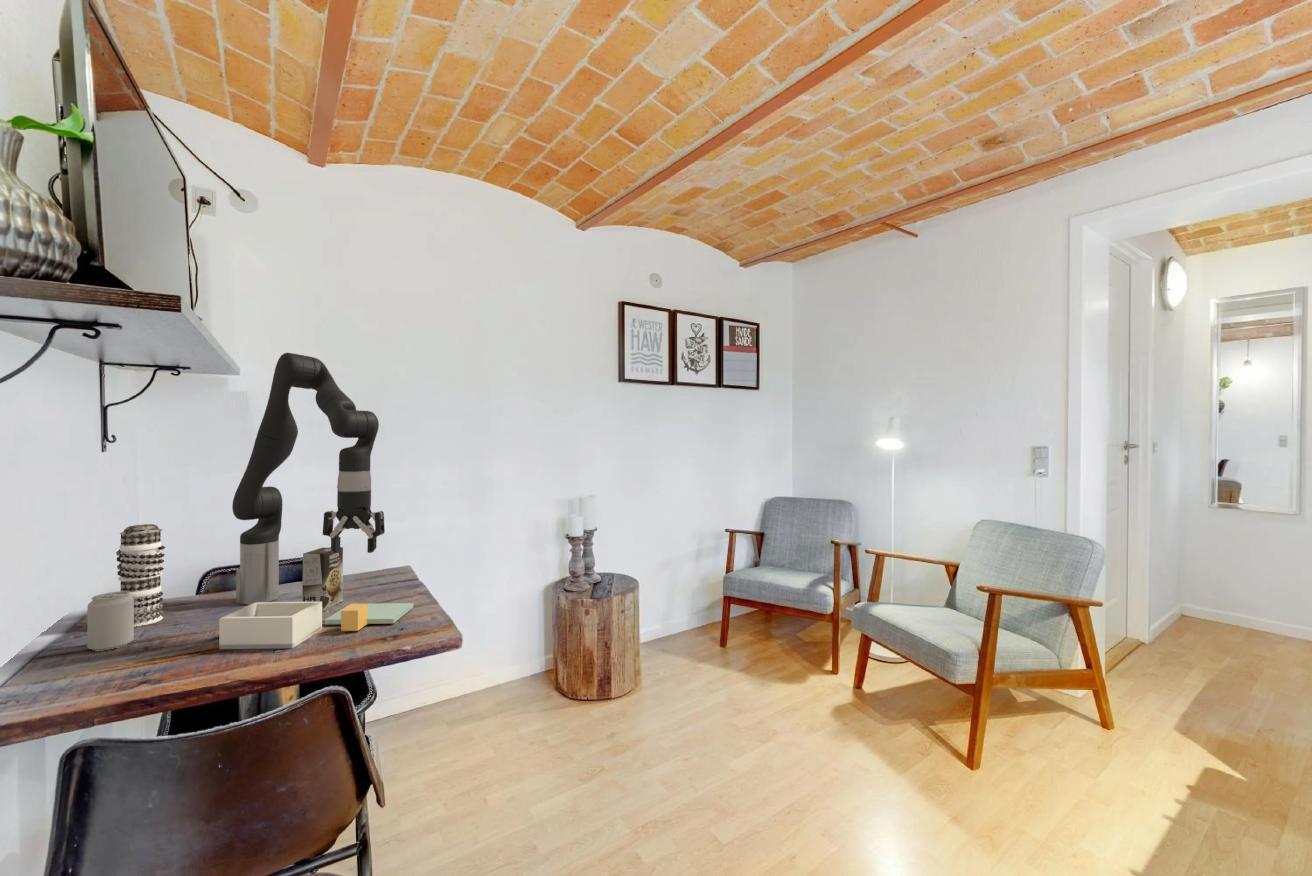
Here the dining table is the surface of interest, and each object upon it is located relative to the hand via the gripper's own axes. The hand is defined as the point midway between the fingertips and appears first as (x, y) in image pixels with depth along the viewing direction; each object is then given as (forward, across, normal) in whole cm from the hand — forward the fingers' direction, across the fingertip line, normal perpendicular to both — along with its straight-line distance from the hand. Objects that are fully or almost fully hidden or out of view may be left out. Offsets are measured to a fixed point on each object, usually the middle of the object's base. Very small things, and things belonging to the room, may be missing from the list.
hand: (353, 552), depth 138 cm
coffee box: (+19, +16, -16) cm, 30 cm away
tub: (+19, +14, +8) cm, 25 cm away
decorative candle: (+20, +56, -5) cm, 60 cm away
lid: (+19, -2, -4) cm, 20 cm away
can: (+20, +48, +12) cm, 53 cm away
